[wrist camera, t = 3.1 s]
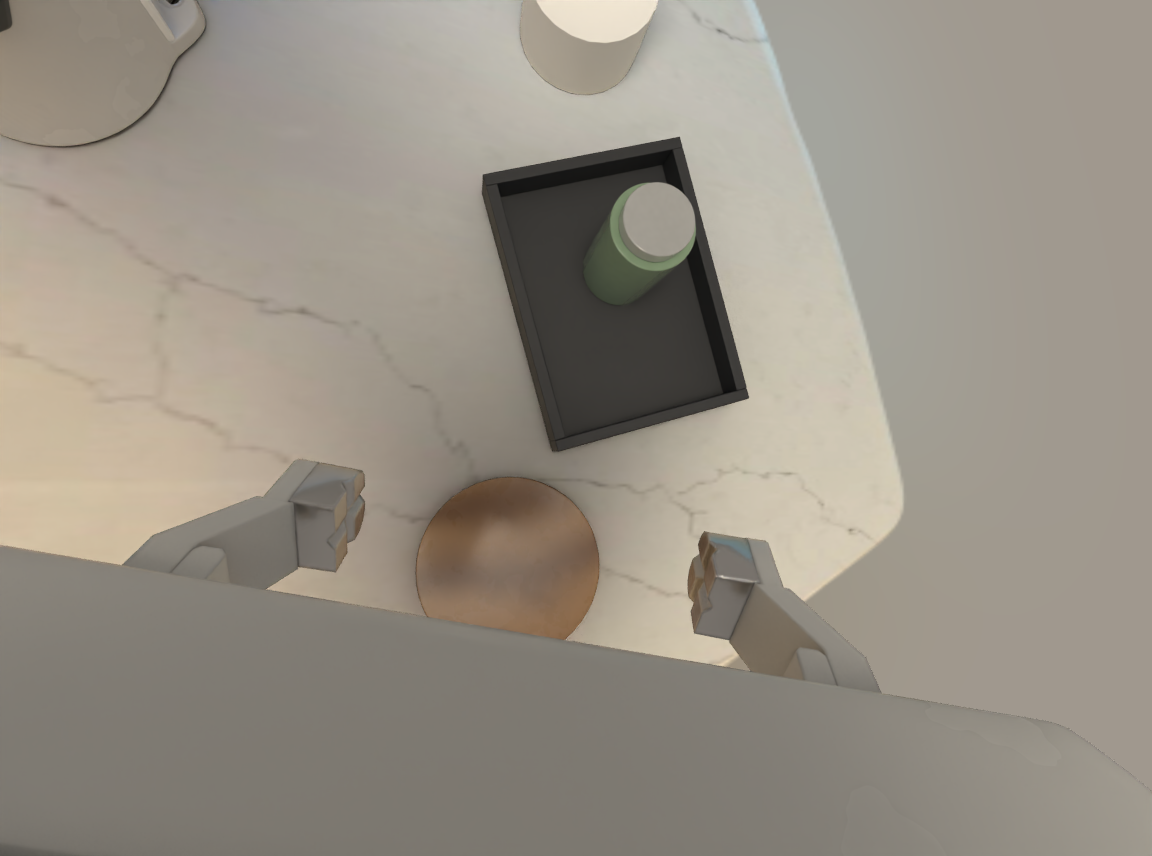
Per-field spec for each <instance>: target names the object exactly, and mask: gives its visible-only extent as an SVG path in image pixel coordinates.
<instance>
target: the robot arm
mask: <svg viewBox="0 0 1152 856" xmlns="http://www.w3.org/2000/svg"><path fill="white" fill-rule="evenodd" d="M172 1H173V0H0V134H1V135H3V136H6V137H8V138H11V139H15V140H18V141H22V142H26V143H31V144H36V145H44V146H72V145H80V144H85V143H90V142H94V141H98V140H101V139H104V138H106V137H109V136H111V135H113V134H116V133H118V132H119V131H121V130H123V129H125V128H126V127H128V126H130V125H131V124H132V123H134V122H135V121H136V120H138V119H139V118H140V117H141V116H142V115H143V114H144V113H145V112H146V111H147V110H148V109H149V108H150V107H151V106H152V105H153V103H154V102H155V101H156V99H157V98H158V96H159V95H160V93H161V91H162V89H163V87H164V85H165V83H166V81H167V78H168V76H169V74H170V71H171V69H172V66H173V64H174V63H175V61H176V59H177V58H178V56H179V55H181V54H182V53H183V52H184V51H185V50H186V49H188V48H189V47H190V46H191V45H192V44H193V43H194V42H195V41H196V40H197V39H198V38H199V37H200V36H201V34H202V33H203V31H204V29H205V18H204V15H203V13H202V11H201V9H200V7H199V5H198V3H197V1H196V0H179V2H178V3H176V4H171V2H172ZM364 486H365V475H364V473H363V471H362V470H357V469H352V468H347V467H341V466H336V465H331V464H326V463H319V462H316V461H310V460H305V459H297V460H295V461H294V462H293V463H292V464H291V465H290V466H289V468H288V469H287V470H286V471H285V472H284V473H283V475H282V476H281V477H280V478H279V479H278V480H277V481H276V483H275V484H274V485H273V486H272V487H271V488H270V490H269V491H268V492H267V493H266V494H265V495H264V497H259V496H256V497H253V498H250V499H248V500H245V501H243V502H240V503H237V504H235V505H232V506H229V507H227V508H224V509H221V510H219V511H216V512H213V513H211V514H208V515H205V516H203V517H200V518H197V519H195V520H192V521H189V522H187V523H184V524H182V525H179V526H176V527H174V528H171V529H168V530H166V531H163V532H160V533H158V534H155V535H153V536H152V537H151V538H150V539H148V540H147V541H146V542H145V543H144V544H143V545H142V546H141V547H140V548H139V549H138V550H137V551H136V552H135V553H134V554H133V555H132V556H131V557H130V558H129V559H128V560H127V561H126V562H125V563H124V564H123V565H117V564H111V563H105V562H99V561H93V560H87V559H81V558H75V557H69V556H63V555H57V554H51V553H46V552H40V551H34V550H28V549H22V548H16V547H10V546H4V545H0V856H1152V791H1151V790H1150V789H1149V788H1148V787H1146V786H1145V785H1144V784H1143V783H1141V782H1140V781H1139V780H1138V779H1137V778H1135V777H1134V776H1133V775H1132V774H1131V773H1129V772H1128V771H1127V770H1125V769H1124V768H1123V767H1121V766H1120V765H1119V764H1117V763H1116V762H1115V761H1113V760H1112V759H1111V758H1109V757H1108V756H1107V755H1105V754H1104V753H1103V752H1101V751H1100V750H1099V749H1097V748H1096V747H1095V746H1093V745H1092V744H1091V743H1089V742H1088V741H1086V740H1085V739H1084V738H1082V737H1081V736H1079V735H1077V734H1076V733H1075V732H1073V731H1072V730H1070V729H1069V728H1066V727H1064V726H1061V725H1059V724H1056V723H1052V722H1049V721H1043V720H1038V719H1031V718H1026V717H1020V716H1014V715H1008V714H1002V713H996V712H990V711H984V710H978V709H972V708H966V707H960V706H954V705H948V704H942V703H936V702H930V701H924V700H918V699H912V698H906V697H900V696H893V695H888V694H882V693H881V691H880V689H879V686H878V684H877V681H876V679H875V677H874V675H873V672H872V670H871V668H870V665H869V663H868V661H867V659H866V657H864V655H863V654H862V653H860V652H859V651H858V650H857V649H856V648H855V647H854V646H853V645H852V644H850V643H849V642H848V641H847V640H846V639H845V638H844V637H843V636H841V635H840V634H839V633H838V632H837V631H836V630H835V629H834V628H832V627H831V626H830V625H829V624H828V623H827V622H826V621H825V620H824V619H822V618H821V617H820V616H819V615H818V614H817V613H816V612H815V611H813V609H811V608H810V607H809V606H808V605H807V604H806V603H805V602H804V601H803V600H801V599H800V598H799V597H798V596H797V595H796V594H795V593H794V592H792V591H791V590H790V589H787V588H784V587H783V584H782V581H781V579H780V576H779V573H778V570H777V567H776V564H775V561H774V558H773V555H772V553H771V550H770V547H769V544H768V543H767V542H766V541H764V540H758V539H751V538H740V537H734V536H728V535H722V534H717V533H711V532H705V531H704V532H703V534H702V535H701V538H700V540H699V543H698V547H699V553H700V554H699V555H697V556H696V557H694V558H693V560H692V563H691V566H690V569H689V576H688V595H689V598H690V599H691V600H692V601H693V602H694V604H693V607H692V609H691V616H692V623H693V629H694V633H695V634H700V635H705V636H710V637H715V638H720V639H725V640H730V641H729V642H730V644H731V645H732V646H733V648H734V649H735V650H736V652H737V653H738V654H739V656H740V657H741V659H742V660H743V661H744V663H745V664H746V665H747V666H748V668H749V669H750V671H745V670H740V669H734V668H728V667H722V666H716V665H711V664H705V663H699V662H693V661H687V660H681V659H675V658H669V657H663V656H657V655H651V654H645V653H639V652H633V651H627V650H621V649H615V648H609V647H603V646H598V645H592V644H586V643H580V642H574V641H568V640H562V639H556V638H550V637H544V636H538V635H532V634H526V633H520V632H514V631H508V630H503V629H497V628H491V627H485V626H479V625H473V624H467V623H461V622H455V621H449V620H443V619H437V618H431V617H425V616H419V615H414V614H408V613H402V612H396V611H390V610H384V609H378V608H372V607H366V606H360V605H354V604H348V603H342V602H336V601H331V600H325V599H319V598H313V597H307V596H301V595H295V594H289V593H283V592H277V591H271V590H265V589H267V588H268V587H270V586H272V585H273V584H275V583H276V582H278V581H279V580H281V579H283V578H284V577H286V576H287V575H289V574H290V573H292V572H294V571H295V570H297V569H298V567H302V568H309V569H316V570H323V571H330V572H336V571H337V569H338V568H339V566H340V564H341V563H342V561H343V559H344V557H345V556H346V554H347V543H349V542H351V541H353V540H355V538H356V536H357V535H358V533H359V531H360V528H361V525H362V522H363V517H364V511H365V501H364V499H363V498H362V497H361V495H360V493H361V491H362V490H363V488H364Z"/></svg>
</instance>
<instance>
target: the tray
mask: <svg viewBox="0 0 1152 856" xmlns="http://www.w3.org/2000/svg"><path fill="white" fill-rule="evenodd" d="M653 182H660V183H666V184H669V185H672V186H674V187H675V188H677V189H678V190H680V191H681V192H682V193H683V194H684V195H685V196H686V197H687V198H688V200H689V202H690V203H691V205H692V208H693V211H694V215H695V224H696V236H695V241H694V244H693V247H692V249H691V251H690V253H689V254H688V256H687V257H686V258H685V259H684V260H683V261H682V262H681V263H680V264H679V265H677V266H676V267H675V268H674V269H673V270H672V271H671V272H670V273H668V274H667V275H666V276H665V277H664V278H663V279H662V280H660V281H659V282H658V283H657V284H656V285H655V286H654V287H653V288H651V289H650V290H649V291H648V292H647V293H646V294H645V295H644V296H642V297H641V298H640V299H639V300H637V301H635V302H633V303H630V304H627V305H613V304H609V303H606V302H604V301H602V300H600V299H599V298H598V297H596V296H595V295H594V294H593V293H592V292H591V290H590V289H589V287H588V286H587V284H586V282H585V279H584V275H583V260H584V257H585V254H586V252H587V250H588V248H589V246H590V245H591V243H592V241H593V239H594V238H595V236H596V234H597V233H598V231H599V229H600V228H601V226H602V224H603V223H604V221H605V219H606V217H607V216H608V214H609V212H610V211H611V209H612V207H613V206H614V204H615V202H616V201H617V199H618V198H619V197H620V196H621V194H622V193H624V192H625V191H626V190H627V189H629V188H631V187H633V186H635V185H638V184H642V183H653ZM482 195H483V199H484V202H485V206H486V210H487V213H488V217H489V221H490V224H491V228H492V232H493V236H494V239H495V243H496V247H497V250H498V254H499V258H500V261H501V265H502V269H503V272H504V276H505V280H506V283H507V287H508V291H509V295H510V298H511V302H512V306H513V309H514V313H515V317H516V320H517V324H518V328H519V331H520V335H521V339H522V342H523V346H524V350H525V353H526V357H527V361H528V365H529V368H530V372H531V376H532V379H533V383H534V387H535V390H536V394H537V398H538V401H539V405H540V409H541V412H542V416H543V420H544V424H545V427H546V431H547V435H548V438H549V442H550V446H551V449H552V451H562V450H566V449H570V448H573V447H577V446H580V445H584V444H587V443H591V442H595V441H598V440H602V439H605V438H609V437H613V436H616V435H620V434H623V433H627V432H631V431H634V430H638V429H641V428H645V427H648V426H652V425H656V424H659V423H663V422H666V421H670V420H674V419H677V418H681V417H684V416H688V415H692V414H695V413H699V412H702V411H706V410H710V409H713V408H717V407H720V406H724V405H727V404H731V403H735V402H738V401H742V400H745V399H748V398H749V396H748V392H747V389H746V383H745V380H744V376H743V372H742V368H741V365H740V361H739V357H738V353H737V350H736V346H735V342H734V338H733V335H732V331H731V327H730V323H729V320H728V316H727V312H726V308H725V305H724V301H723V297H722V293H721V290H720V286H719V282H718V278H717V275H716V271H715V267H714V263H713V260H712V256H711V252H710V248H709V245H708V241H707V237H706V234H705V230H704V226H703V222H702V219H701V215H700V211H699V207H698V204H697V200H696V196H695V192H694V189H693V185H692V181H691V177H690V174H689V170H688V166H687V162H686V159H685V155H684V151H683V148H682V144H681V140H680V137H677V138H671V139H666V140H661V141H656V142H650V143H645V144H640V145H635V146H630V147H624V148H619V149H614V150H609V151H603V152H598V153H593V154H588V155H583V156H577V157H572V158H567V159H562V160H557V161H551V162H546V163H541V164H536V165H530V166H525V167H520V168H515V169H510V170H504V171H499V172H494V173H489V174H484V175H483V185H482Z"/></svg>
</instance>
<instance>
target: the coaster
mask: <svg viewBox="0 0 1152 856" xmlns="http://www.w3.org/2000/svg"><path fill="white" fill-rule="evenodd" d="M598 578H599V553H598V548H597V544H596V540H595V537H594V534H593V531H592V529H591V527H590V525H589V523H588V521H587V520H586V518H585V517H584V515H583V514H582V512H581V511H580V510H579V509H578V507H577V506H576V505H575V504H574V503H573V502H572V501H571V500H570V499H569V498H567V497H566V496H565V495H564V494H562V493H561V492H559V491H558V490H556V489H555V488H552V487H550V486H548V485H546V484H544V483H541V482H538V481H535V480H532V479H527V478H521V477H500V478H494V479H489V480H485V481H482V482H479V483H476V484H474V485H472V486H470V487H468V488H466V489H464V490H462V491H461V492H459V493H458V494H456V495H455V496H453V497H452V498H451V499H450V500H449V501H448V502H446V503H445V504H444V505H443V506H442V508H441V509H440V510H439V511H438V512H437V513H436V515H435V516H434V518H433V519H432V521H431V522H430V524H429V525H428V527H427V529H426V531H425V533H424V535H423V538H422V541H421V544H420V546H419V550H418V555H417V560H416V586H417V591H418V595H419V599H420V602H421V605H422V608H423V610H424V612H425V614H426V616H427V617H431V618H437V619H443V620H449V621H455V622H461V623H467V624H473V625H479V626H485V627H491V628H497V629H503V630H508V631H514V632H520V633H526V634H532V635H538V636H544V637H550V638H556V639H562V640H565V639H566V638H567V637H568V636H569V635H570V634H571V633H572V632H573V631H574V630H575V629H576V627H577V626H578V625H579V624H580V623H581V621H582V620H583V618H584V616H585V615H586V613H587V612H588V610H589V608H590V605H591V603H592V601H593V598H594V595H595V592H596V589H597V584H598Z"/></svg>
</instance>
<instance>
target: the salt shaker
mask: <svg viewBox="0 0 1152 856" xmlns="http://www.w3.org/2000/svg"><path fill="white" fill-rule="evenodd" d="M695 236H696V224H695V215H694V211H693V208H692V205H691V203H690V202H689V200H688V198H687V197H686V196H685V195H684V194H683V193H682V192H681V191H680V190H678V189H677V188H675V187H674V186H672V185H669V184H666V183H660V182H653V183H642V184H638V185H635V186H633V187H631V188H629V189H627V190H626V191H625V192H624V193H622V194H621V196H620V197H619V198H618V199H617V201H616V202H615V204H614V206H613V207H612V209H611V211H610V212H609V214H608V216H607V217H606V219H605V221H604V223H603V224H602V226H601V228H600V229H599V231H598V233H597V234H596V236H595V238H594V239H593V241H592V243H591V245H590V246H589V248H588V250H587V252H586V254H585V257H584V260H583V275H584V279H585V282H586V284H587V286H588V287H589V289H590V290H591V292H592V293H593V294H594V295H595V296H596V297H598V298H599V299H600V300H602V301H604V302H606V303H609V304H613V305H627V304H630V303H633V302H635V301H637V300H639V299H640V298H641V297H642V296H644V295H645V294H646V293H647V292H648V291H649V290H650V289H651V288H653V287H654V286H655V285H656V284H657V283H658V282H659V281H660V280H662V279H663V278H664V277H665V276H666V275H667V274H668V273H670V272H671V271H672V270H673V269H674V268H675V267H676V266H677V265H679V264H680V263H681V262H682V261H683V260H684V259H685V258H686V257H687V256H688V254H689V253H690V251H691V249H692V247H693V244H694V241H695Z"/></svg>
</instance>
